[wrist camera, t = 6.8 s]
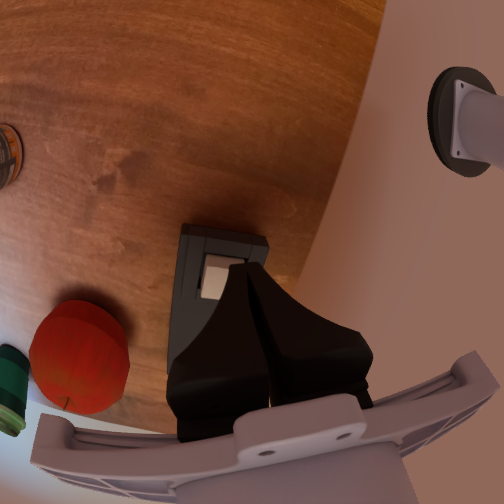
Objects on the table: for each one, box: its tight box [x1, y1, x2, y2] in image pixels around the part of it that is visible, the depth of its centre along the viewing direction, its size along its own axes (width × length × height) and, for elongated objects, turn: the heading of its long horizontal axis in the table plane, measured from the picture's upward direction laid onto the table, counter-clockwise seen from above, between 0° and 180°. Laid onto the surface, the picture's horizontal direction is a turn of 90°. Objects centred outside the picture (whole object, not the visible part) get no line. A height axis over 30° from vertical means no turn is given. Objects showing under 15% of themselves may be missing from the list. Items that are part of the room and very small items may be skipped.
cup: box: [0, 345, 30, 437], centre depth 24 cm, size 8×8×12 cm
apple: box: [29, 300, 130, 414], centre depth 21 cm, size 10×10×12 cm
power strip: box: [167, 224, 269, 375], centre depth 26 cm, size 19×7×4 cm, turn 166°
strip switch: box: [201, 253, 244, 300], centre depth 21 cm, size 3×3×2 cm
